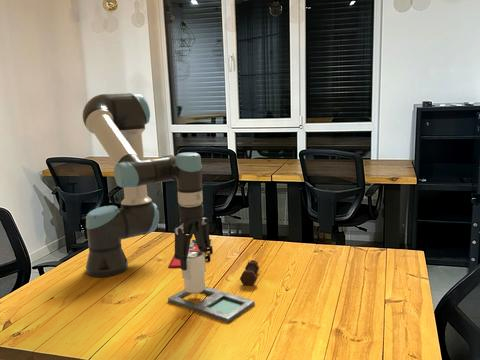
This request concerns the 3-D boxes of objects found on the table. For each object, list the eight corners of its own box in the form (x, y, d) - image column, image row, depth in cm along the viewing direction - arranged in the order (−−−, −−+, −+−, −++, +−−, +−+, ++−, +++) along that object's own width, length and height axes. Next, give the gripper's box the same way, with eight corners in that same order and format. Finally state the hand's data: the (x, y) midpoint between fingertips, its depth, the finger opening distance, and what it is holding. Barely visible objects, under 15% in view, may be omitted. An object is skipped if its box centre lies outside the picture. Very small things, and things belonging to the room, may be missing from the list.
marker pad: (207, 310, 133) (207, 309, 133) (223, 299, 139) (223, 299, 139) (228, 317, 128) (228, 316, 128) (244, 306, 134) (244, 305, 134)
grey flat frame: (168, 301, 139) (167, 298, 139) (196, 286, 149) (195, 283, 149) (228, 322, 125) (228, 318, 125) (254, 304, 135) (254, 300, 135)
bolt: (255, 273, 163) (250, 290, 148) (243, 266, 163) (237, 282, 149) (263, 260, 162) (258, 275, 147) (251, 253, 162) (245, 268, 148)
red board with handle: (215, 241, 195) (182, 242, 196) (215, 235, 195) (181, 236, 195) (208, 268, 166) (168, 269, 167) (207, 261, 165) (167, 262, 166)
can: (208, 286, 142) (206, 251, 140) (200, 295, 136) (198, 258, 134) (190, 283, 145) (188, 249, 142) (181, 292, 139) (179, 256, 136)
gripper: (177, 213, 125) (181, 289, 130) (220, 198, 140) (222, 267, 145) (158, 209, 129) (163, 283, 134) (202, 195, 144) (205, 262, 149)
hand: (194, 274), depth 139 cm, fingers closed on can, 6 cm apart
